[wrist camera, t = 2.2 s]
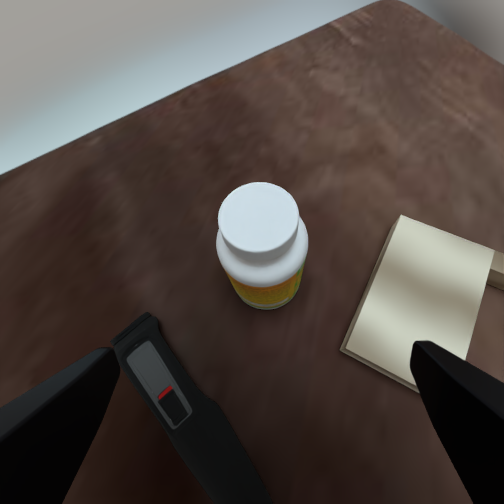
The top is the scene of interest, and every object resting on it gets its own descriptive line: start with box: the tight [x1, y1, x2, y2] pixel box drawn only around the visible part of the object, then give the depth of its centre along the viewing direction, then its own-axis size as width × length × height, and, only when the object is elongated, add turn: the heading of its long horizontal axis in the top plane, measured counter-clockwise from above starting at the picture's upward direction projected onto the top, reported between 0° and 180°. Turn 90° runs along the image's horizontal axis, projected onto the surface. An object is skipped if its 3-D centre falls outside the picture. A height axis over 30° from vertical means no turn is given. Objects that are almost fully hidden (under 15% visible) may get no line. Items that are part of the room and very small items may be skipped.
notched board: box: [340, 215, 504, 393], centre depth 18 cm, size 11×17×2 cm, turn 61°
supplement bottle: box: [216, 182, 308, 309], centre depth 18 cm, size 5×5×10 cm
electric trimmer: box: [110, 312, 273, 504], centre depth 18 cm, size 4×16×3 cm, turn 41°
